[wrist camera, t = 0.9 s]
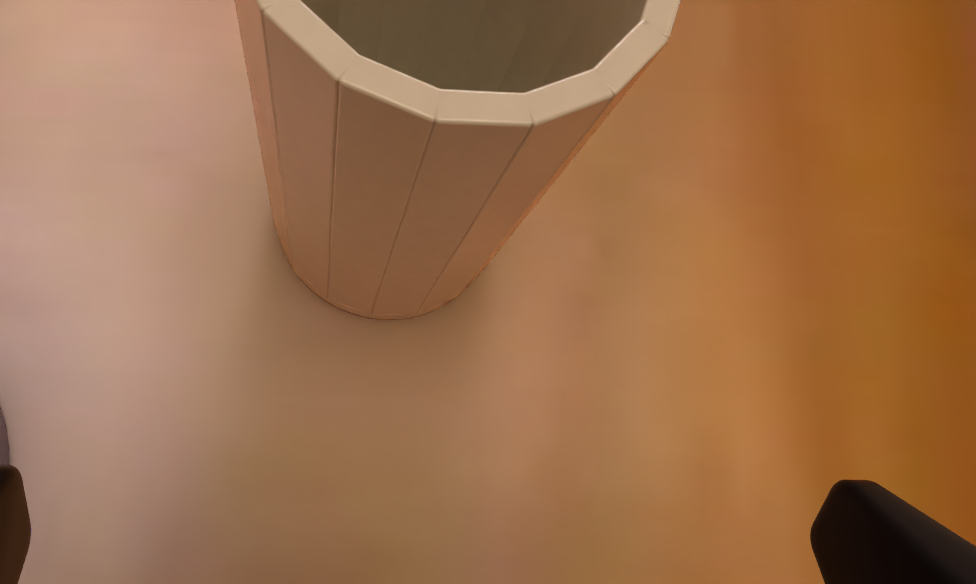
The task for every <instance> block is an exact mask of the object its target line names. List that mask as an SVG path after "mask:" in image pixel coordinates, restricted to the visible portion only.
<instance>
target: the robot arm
mask: <svg viewBox="0 0 976 584" xmlns="http://www.w3.org/2000/svg"><path fill="white" fill-rule="evenodd" d="M30 537H31V524H30V518H29V513H28V507H27V502H26V497H25V492H24V486H23V481H22V477H21V474H20V472H19V470H18V469H17V468H16V467H13V466H10V465H0V584H18V581H19V577H20V574H21V571H22V568H23V565H24V562H25V558H26V555H27V552H28V548H29V544H30ZM810 539H811V545H812V549H813V552H814V555H815V557H816V560H817V563H818V566H819V568H820V571H821V574H822V577H823V579H824V582H825V584H976V546H974V545H972V544H971V543H969V542H968V541H966V540H965V539H963V538H961V537H960V536H958V535H957V534H955V533H954V532H952V531H951V530H949V529H947V528H946V527H944V526H943V525H941V524H940V523H938V522H936V521H935V520H933V519H932V518H930V517H929V516H927V515H926V514H924V513H922V512H921V511H919V510H918V509H916V508H915V507H913V506H911V505H910V504H908V503H907V502H905V501H904V500H902V499H900V498H899V497H897V496H896V495H894V494H893V493H891V492H890V491H888V490H886V489H885V488H883V487H882V486H880V485H879V484H877V483H875V482H872V481H868V480H841V481H838V482H837V483H836V484H834V485H833V487H832V488H831V490H830V492H829V494H828V496H827V498H826V500H825V501H824V503H823V505H822V507H821V509H820V511H819V513H818V515H817V517H816V519H815V521H814V523H813V525H812V527H811V533H810Z"/></svg>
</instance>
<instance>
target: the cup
mask: <svg viewBox="0 0 976 584" xmlns="http://www.w3.org/2000/svg"><path fill="white" fill-rule="evenodd" d="M680 2H681V0H235V6H236V12H237V17H238V23H239V29H240V34H241V40H242V46H243V51H244V57H245V63H246V68H247V74H248V80H249V85H250V91H251V97H252V102H253V108H254V114H255V120H256V125H257V131H258V137H259V142H260V148H261V154H262V159H263V165H264V171H265V176H266V182H267V188H268V193H269V199H270V205H271V210H272V216H273V222H274V226H275V229H276V231H277V233H278V237H279V240H280V243H281V246H282V249H283V251H284V254H285V255H286V257H287V259H288V261H289V263H290V265H291V266H292V268H293V269H294V271H295V272H296V273H297V275H298V276H299V278H300V279H301V280H302V281H303V282H304V283H305V284H306V285H307V286H308V287H309V288H310V289H311V290H312V291H314V292H315V293H316V294H317V295H319V296H320V297H321V298H323V299H324V300H326V301H327V302H329V303H331V304H332V305H334V306H336V307H338V308H340V309H343V310H345V311H347V312H350V313H353V314H356V315H360V316H364V317H369V318H375V319H403V318H410V317H415V316H419V315H422V314H425V313H428V312H431V311H434V310H436V309H438V308H440V307H442V306H443V305H445V304H447V303H449V302H450V301H451V300H453V299H454V298H456V297H457V296H458V295H460V294H461V293H462V292H463V291H464V290H465V289H466V288H467V287H468V286H469V285H470V283H471V282H472V281H473V280H474V279H475V278H476V277H477V276H478V274H479V273H480V272H481V271H482V270H483V269H484V268H485V267H486V266H487V265H488V263H489V262H490V261H491V260H492V258H493V257H494V256H495V255H496V254H497V252H498V251H499V250H500V249H501V247H502V246H503V245H504V244H505V242H506V241H507V240H508V239H509V237H510V236H511V235H512V234H513V233H514V231H515V230H516V229H517V228H518V226H519V225H520V224H521V223H522V221H523V220H524V219H525V218H526V216H527V215H528V214H529V213H530V212H531V210H532V209H533V208H534V207H535V205H536V204H537V203H538V202H539V200H540V199H541V198H542V197H543V195H544V194H545V193H546V192H547V191H548V189H549V188H550V187H551V186H552V184H553V183H554V182H555V181H556V179H557V178H558V177H559V176H560V174H561V173H562V172H563V171H564V170H565V168H566V167H567V166H568V165H569V163H570V162H571V161H572V160H573V158H574V157H575V156H576V155H577V153H578V152H579V151H580V150H581V149H582V147H583V146H584V145H585V144H586V142H587V141H588V140H589V139H590V137H591V136H592V135H593V134H594V132H595V131H596V130H597V129H598V128H599V126H600V125H601V124H602V123H603V121H604V120H605V119H606V118H607V116H608V115H609V114H610V113H611V111H612V110H613V109H614V108H615V107H616V105H617V104H618V103H619V102H620V100H621V99H622V98H623V97H624V95H625V94H626V93H627V92H628V90H629V89H630V88H631V87H632V86H633V84H634V83H635V82H636V81H637V79H638V78H639V77H640V76H641V74H642V73H643V72H644V71H645V69H646V68H647V67H648V66H649V65H650V63H651V62H652V61H653V60H654V58H655V57H656V56H657V55H658V53H659V52H660V51H661V50H662V48H663V47H664V46H665V45H666V44H667V41H668V39H669V38H670V35H671V32H672V29H673V25H674V22H675V19H676V15H677V12H678V9H679V5H680Z"/></svg>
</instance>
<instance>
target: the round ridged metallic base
mask: <svg viewBox="0 0 976 584" xmlns="http://www.w3.org/2000/svg"><path fill="white" fill-rule="evenodd" d="M0 465H9V446H8V439H7V432H6V425H5V422H4V419H3V415H2V412H1V409H0Z"/></svg>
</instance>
